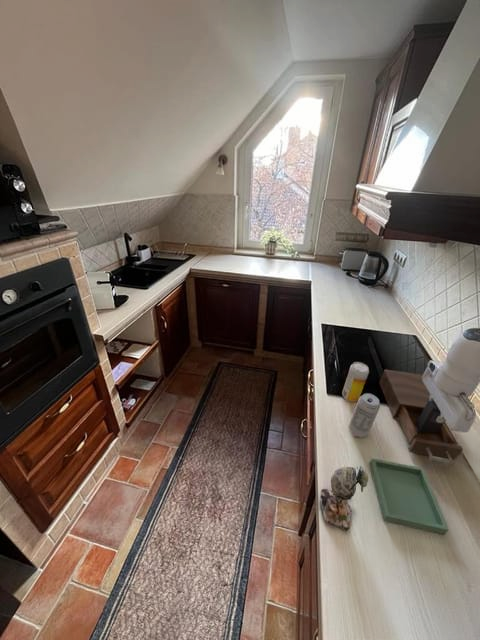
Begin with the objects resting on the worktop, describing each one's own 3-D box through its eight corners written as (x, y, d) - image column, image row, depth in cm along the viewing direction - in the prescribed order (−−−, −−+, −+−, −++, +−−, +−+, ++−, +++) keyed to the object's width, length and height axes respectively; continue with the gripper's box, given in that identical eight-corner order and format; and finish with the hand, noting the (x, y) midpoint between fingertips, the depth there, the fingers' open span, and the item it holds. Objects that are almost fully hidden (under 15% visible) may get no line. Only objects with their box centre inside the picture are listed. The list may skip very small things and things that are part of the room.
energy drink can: (371, 432, 84) (385, 400, 76) (361, 442, 80) (375, 410, 73) (354, 420, 88) (366, 388, 80) (344, 429, 84) (356, 398, 77)
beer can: (362, 400, 95) (373, 370, 88) (349, 405, 93) (360, 374, 86) (350, 389, 100) (360, 359, 92) (338, 393, 98) (347, 363, 90)
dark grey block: (432, 426, 82) (446, 402, 76) (436, 435, 79) (452, 411, 74) (415, 423, 83) (428, 400, 77) (419, 432, 80) (433, 408, 75)
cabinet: (435, 424, 87) (444, 410, 83) (392, 417, 89) (399, 403, 85) (415, 387, 102) (422, 374, 98) (379, 382, 104) (384, 369, 100)
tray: (419, 472, 73) (422, 468, 71) (444, 534, 60) (448, 530, 59) (369, 463, 75) (371, 458, 73) (383, 520, 62) (386, 516, 61)
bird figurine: (355, 492, 68) (377, 447, 58) (348, 537, 59) (373, 494, 49) (324, 476, 71) (340, 431, 61) (313, 517, 63) (330, 472, 52)
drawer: (462, 474, 72) (471, 464, 69) (414, 465, 73) (422, 455, 71) (430, 415, 89) (436, 404, 86) (392, 408, 91) (397, 398, 88)
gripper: (491, 413, 61) (465, 447, 68) (449, 359, 78) (431, 391, 86) (462, 408, 62) (439, 443, 69) (426, 357, 79) (411, 389, 87)
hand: (434, 414), depth 78 cm, fingers closed on dark grey block, 3 cm apart
